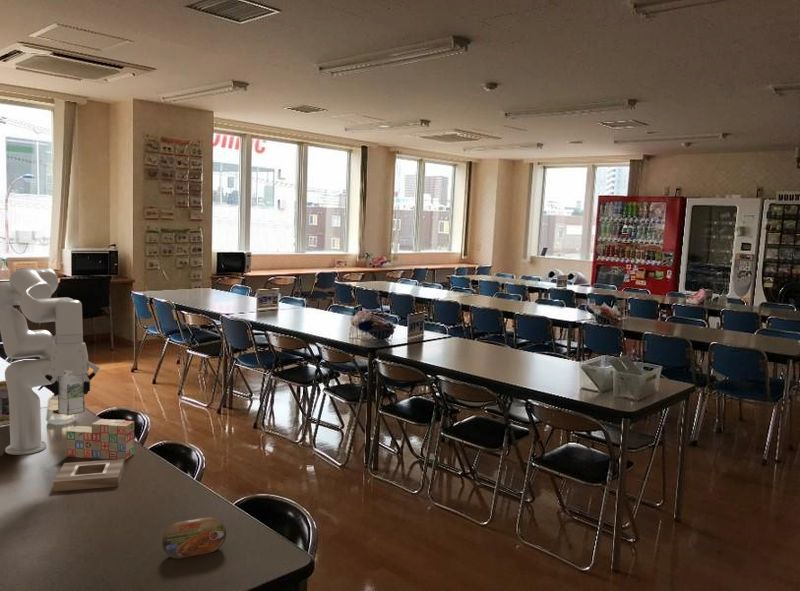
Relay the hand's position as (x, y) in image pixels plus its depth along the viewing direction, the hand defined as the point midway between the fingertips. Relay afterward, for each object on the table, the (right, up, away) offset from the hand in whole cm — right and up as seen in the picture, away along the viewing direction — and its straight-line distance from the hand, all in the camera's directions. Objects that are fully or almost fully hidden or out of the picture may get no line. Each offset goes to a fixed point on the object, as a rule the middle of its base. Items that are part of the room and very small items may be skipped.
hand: (71, 394), depth 205 cm
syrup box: (0, -6, +1) cm, 6 cm away
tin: (+53, -33, -44) cm, 76 cm away
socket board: (+6, -27, 0) cm, 28 cm away
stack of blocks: (0, -25, +21) cm, 33 cm away
